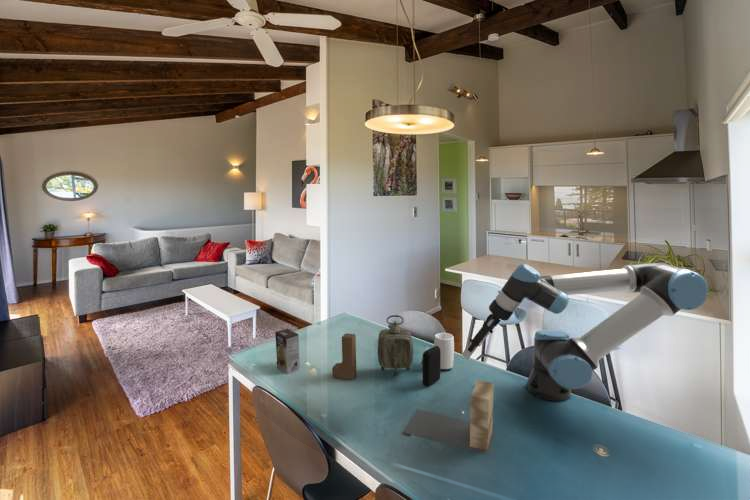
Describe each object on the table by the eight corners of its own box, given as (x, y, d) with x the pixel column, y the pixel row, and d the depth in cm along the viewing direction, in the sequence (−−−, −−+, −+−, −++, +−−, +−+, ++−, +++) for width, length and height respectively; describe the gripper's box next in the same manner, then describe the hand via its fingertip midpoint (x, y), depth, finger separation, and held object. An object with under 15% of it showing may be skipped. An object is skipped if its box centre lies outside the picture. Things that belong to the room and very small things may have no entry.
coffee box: (276, 367, 167) (274, 331, 165) (289, 362, 172) (287, 328, 169) (287, 374, 161) (285, 337, 158) (300, 369, 165) (298, 333, 162)
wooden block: (332, 377, 157) (330, 335, 155) (336, 372, 161) (335, 331, 159) (352, 380, 155) (351, 338, 152) (356, 375, 159) (355, 333, 156)
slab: (492, 431, 120) (494, 383, 118) (487, 450, 111) (488, 399, 109) (476, 427, 122) (477, 380, 120) (469, 446, 113) (471, 395, 111)
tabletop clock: (412, 368, 165) (412, 311, 161) (413, 378, 156) (413, 319, 152) (378, 368, 165) (377, 312, 161) (377, 378, 156) (377, 319, 152)
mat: (495, 429, 122) (495, 427, 122) (488, 456, 110) (488, 454, 110) (416, 410, 133) (416, 408, 133) (402, 433, 121) (402, 431, 120)
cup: (456, 366, 166) (457, 334, 164) (449, 374, 159) (449, 341, 157) (438, 361, 171) (438, 331, 169) (430, 369, 164) (430, 337, 162)
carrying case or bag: (425, 390, 146) (425, 353, 144) (418, 387, 148) (419, 351, 146) (441, 380, 154) (442, 345, 151) (435, 378, 156) (436, 343, 154)
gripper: (503, 290, 142) (473, 332, 150) (484, 307, 121) (450, 355, 129) (521, 303, 140) (489, 345, 148) (505, 322, 118) (468, 370, 127)
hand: (471, 350), depth 139 cm, fingers open, 13 cm apart
